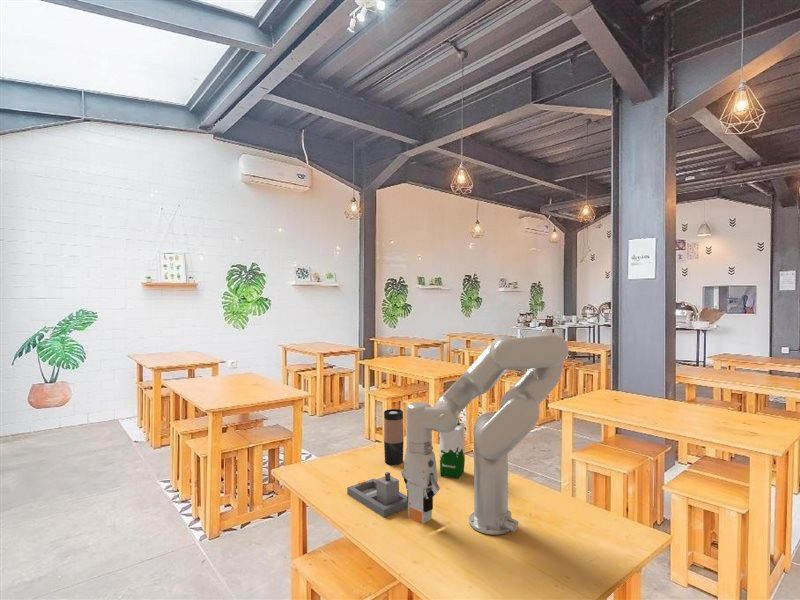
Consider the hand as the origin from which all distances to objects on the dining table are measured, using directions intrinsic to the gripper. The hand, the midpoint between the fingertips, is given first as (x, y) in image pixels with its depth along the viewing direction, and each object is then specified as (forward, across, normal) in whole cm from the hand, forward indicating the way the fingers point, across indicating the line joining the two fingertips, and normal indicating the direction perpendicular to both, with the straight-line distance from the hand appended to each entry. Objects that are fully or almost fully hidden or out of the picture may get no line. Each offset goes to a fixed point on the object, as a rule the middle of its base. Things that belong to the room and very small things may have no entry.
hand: (419, 505), depth 132 cm
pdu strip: (+4, +17, +2) cm, 18 cm away
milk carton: (+4, +17, -31) cm, 36 cm away
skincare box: (+4, 0, 0) cm, 4 cm away
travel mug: (+4, +40, -22) cm, 46 cm away
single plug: (+4, +12, +2) cm, 13 cm away
